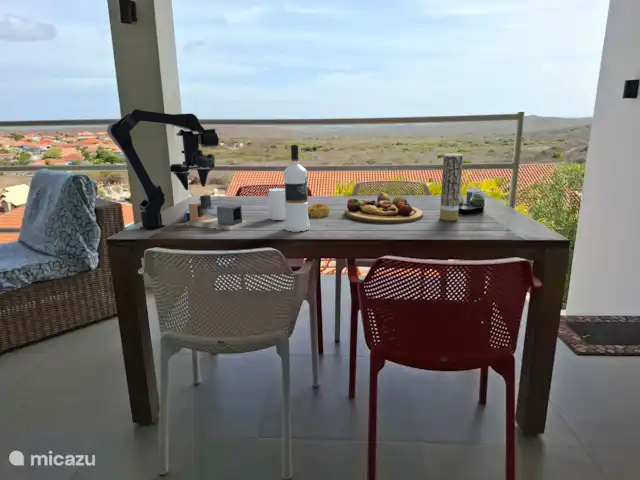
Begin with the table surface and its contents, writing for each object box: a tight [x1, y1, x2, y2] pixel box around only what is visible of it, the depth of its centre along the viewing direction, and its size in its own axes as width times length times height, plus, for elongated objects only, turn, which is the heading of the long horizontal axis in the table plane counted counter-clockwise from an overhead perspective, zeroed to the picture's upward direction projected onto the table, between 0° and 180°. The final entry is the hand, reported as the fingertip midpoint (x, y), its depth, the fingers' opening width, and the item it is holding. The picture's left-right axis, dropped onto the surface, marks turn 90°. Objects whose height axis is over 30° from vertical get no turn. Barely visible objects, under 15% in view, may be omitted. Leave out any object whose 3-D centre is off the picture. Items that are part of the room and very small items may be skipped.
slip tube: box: [197, 194, 218, 218], centre depth 156 cm, size 15×4×8 cm, turn 64°
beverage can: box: [267, 187, 286, 221], centre depth 163 cm, size 8×8×12 cm
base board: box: [186, 216, 248, 231], centre depth 157 cm, size 21×10×1 cm, turn 64°
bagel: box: [308, 202, 331, 219], centre depth 170 cm, size 10×11×5 cm
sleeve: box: [216, 203, 243, 226], centre depth 153 cm, size 7×6×7 cm
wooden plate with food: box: [344, 191, 424, 225], centre depth 168 cm, size 32×32×8 cm
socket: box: [188, 200, 209, 222], centre depth 159 cm, size 4×6×7 cm, turn 154°
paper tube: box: [439, 153, 464, 222], centre depth 156 cm, size 7×7×25 cm
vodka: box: [283, 144, 311, 233], centre depth 144 cm, size 9×9×30 cm
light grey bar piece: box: [183, 197, 200, 222], centre depth 175 cm, size 5×7×25 cm
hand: (195, 188), depth 161 cm, fingers open, 9 cm apart
